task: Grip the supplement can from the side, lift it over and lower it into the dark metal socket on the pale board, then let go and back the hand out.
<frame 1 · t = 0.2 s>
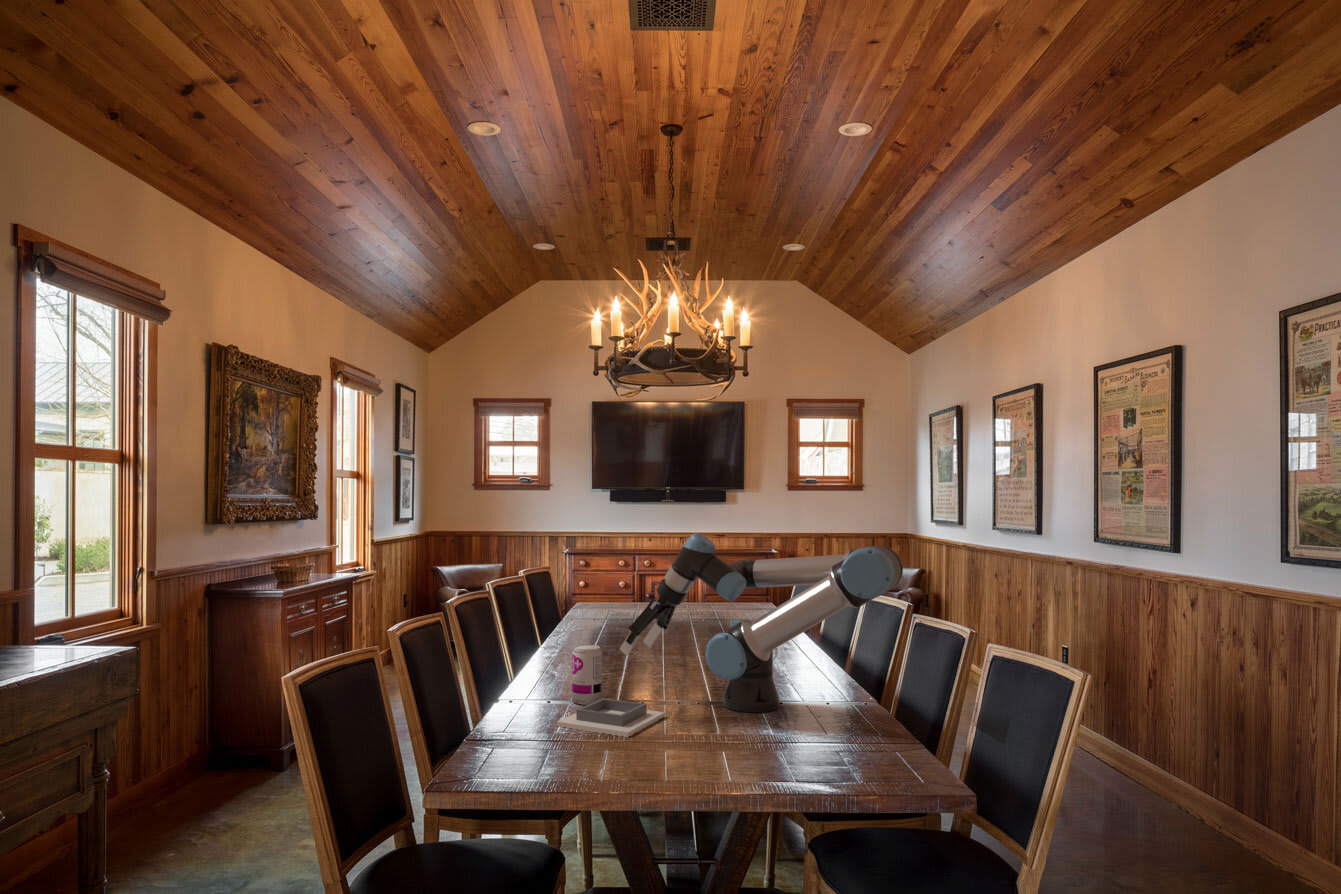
hand: (635, 648, 227), 15 cm above the table, tool tilted 35°, fingers open, 13 cm apart
supplement can: (586, 702, 228), on the table
socket board: (611, 721, 209), on the table
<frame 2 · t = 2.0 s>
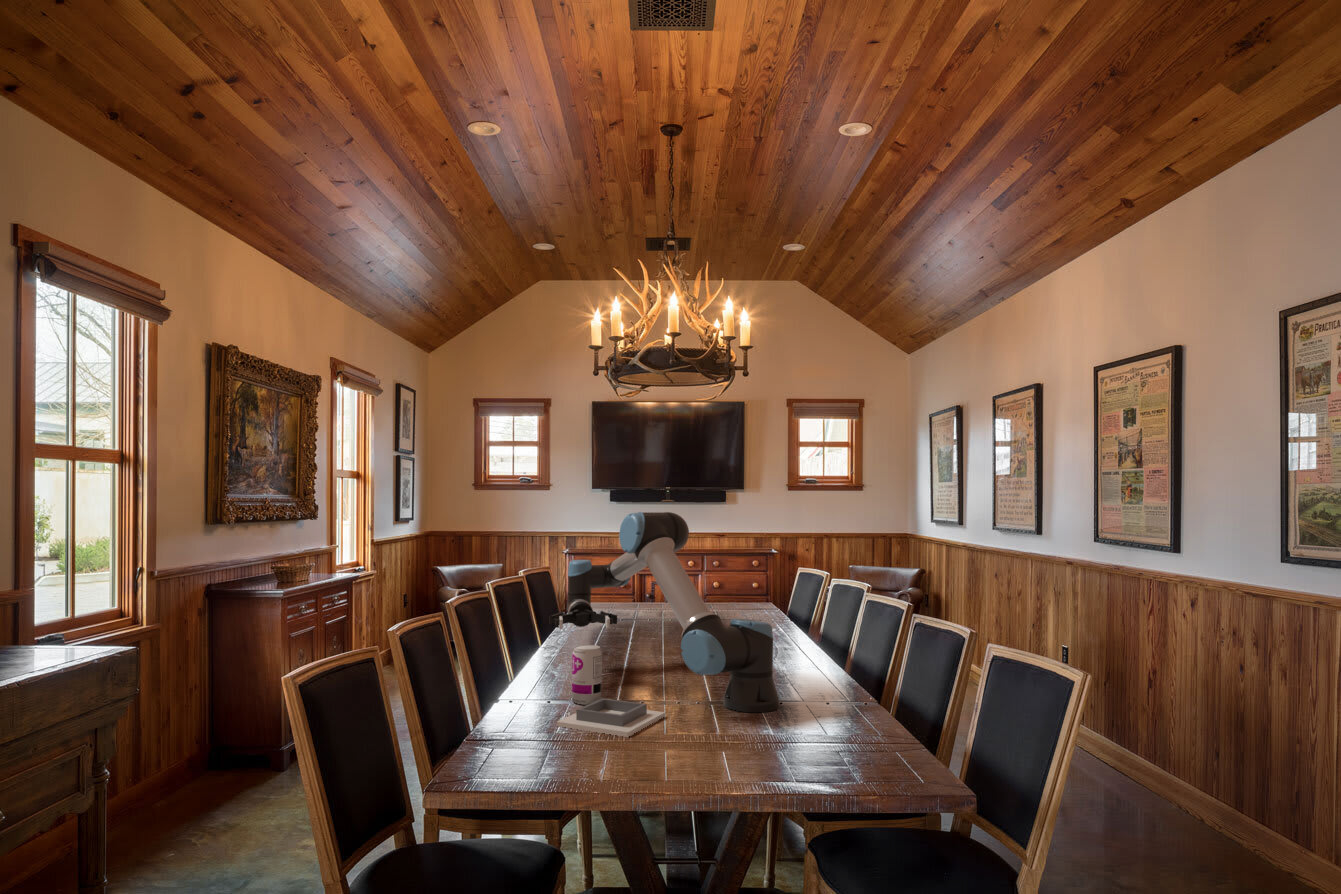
hand: (585, 624, 239), 20 cm above the table, tool horizontal, fingers open, 13 cm apart
nothing on the table moved.
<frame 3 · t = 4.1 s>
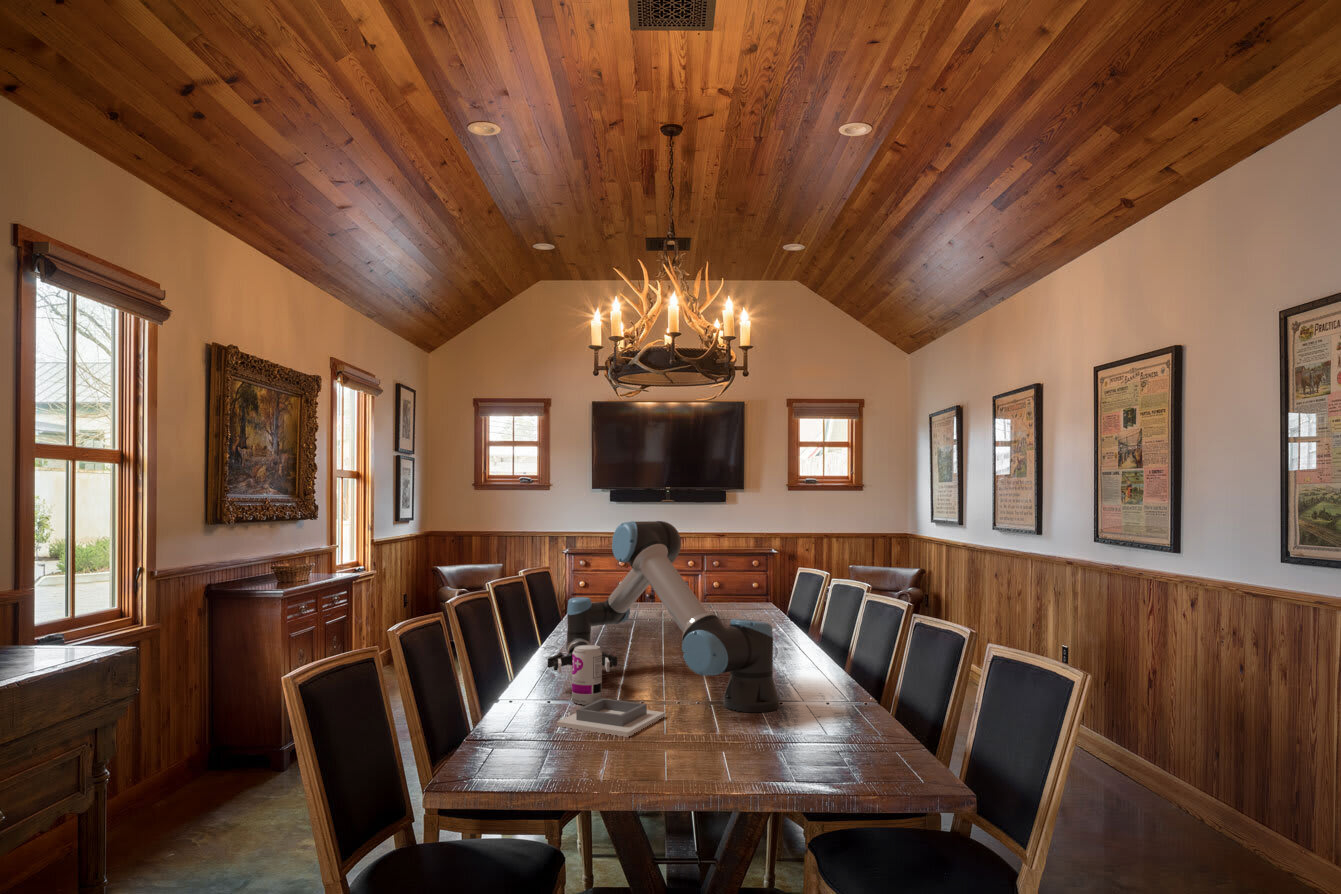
hand: (584, 667, 234), 8 cm above the table, tool horizontal, fingers open, 13 cm apart
nothing on the table moved.
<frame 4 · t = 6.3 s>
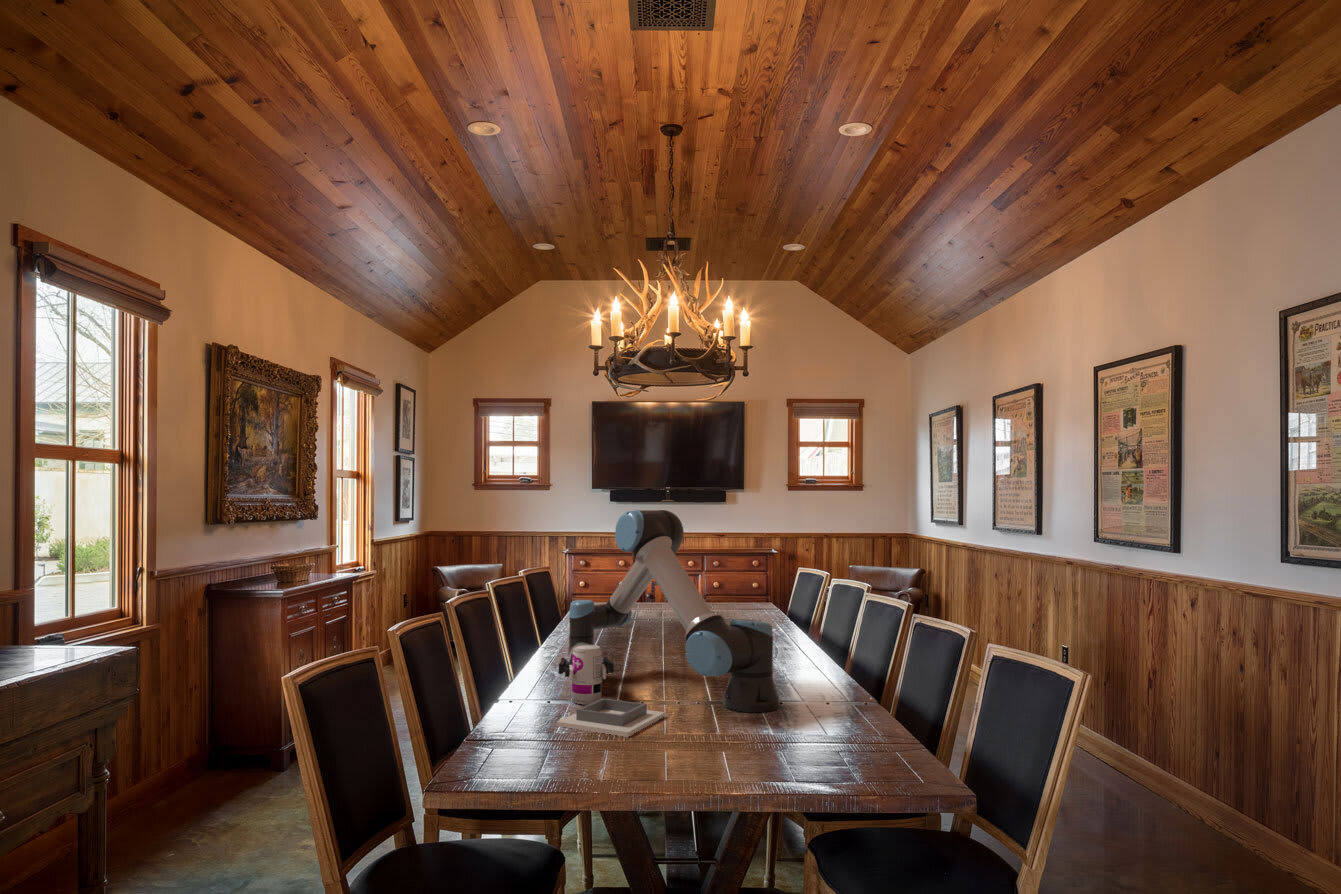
hand: (588, 674, 224), 9 cm above the table, tool horizontal, fingers closed on supplement can, 8 cm apart
supplement can: (586, 702, 228), on the table, touching gripper
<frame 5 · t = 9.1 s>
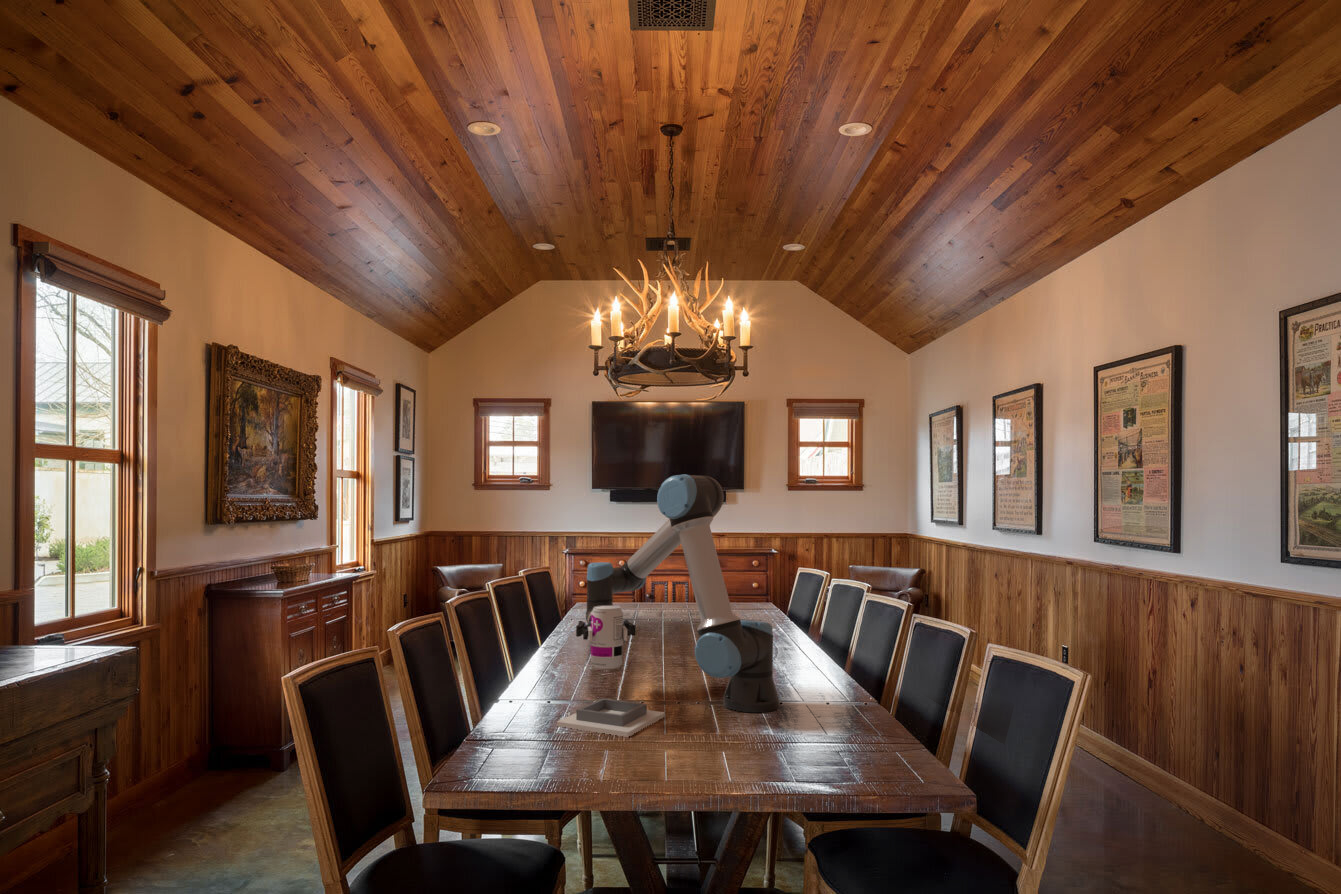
hand: (608, 635, 208), 22 cm above the table, tool horizontal, fingers closed on supplement can, 8 cm apart
supplement can: (606, 667, 212), point 13 cm above the table, touching gripper
when the fingers open (11 cm above the table, at t = 12.3 s): supplement can drops 1 cm, resting on socket board.
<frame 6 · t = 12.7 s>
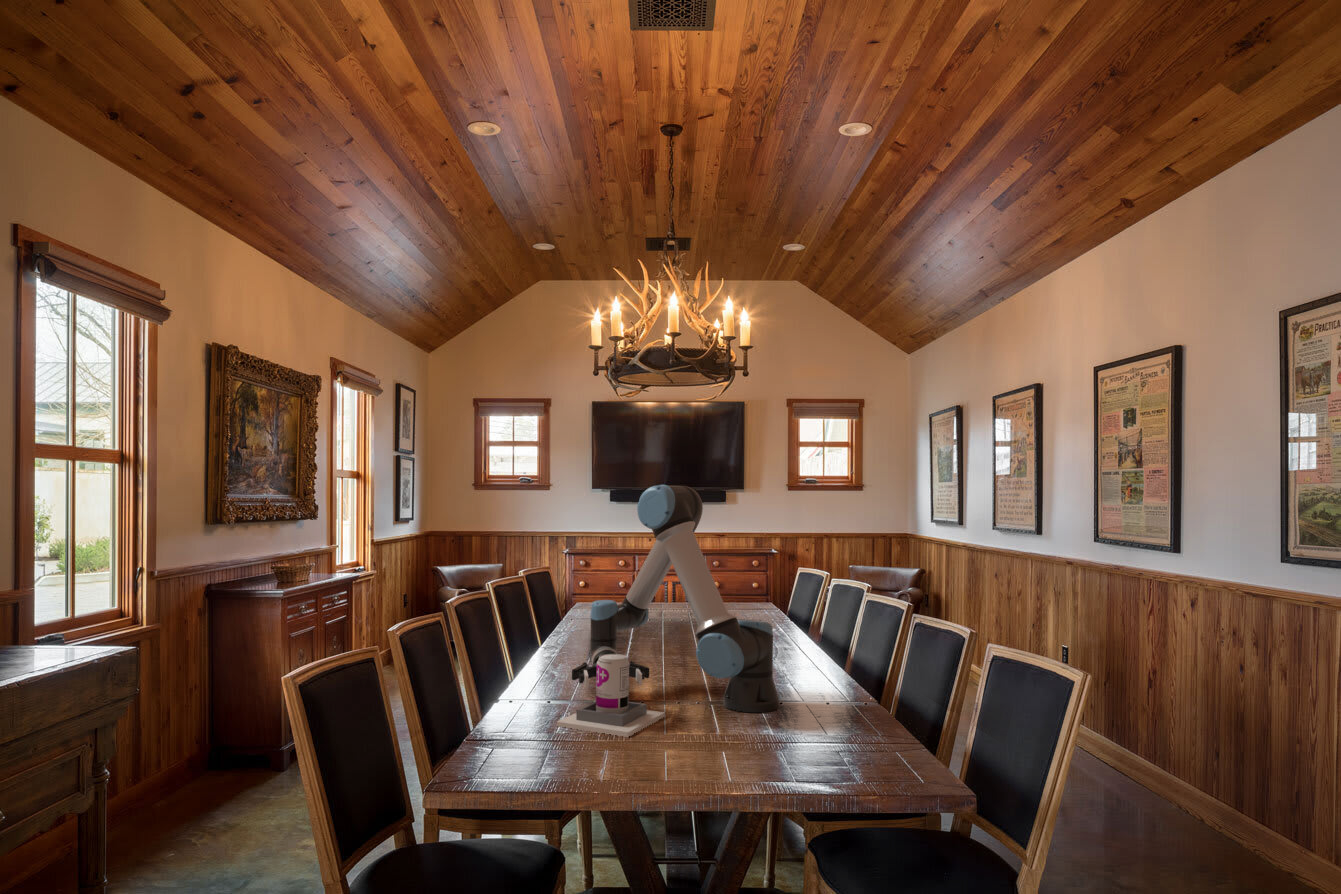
hand: (613, 680, 206), 11 cm above the table, tool horizontal, fingers open, 13 cm apart
supplement can: (612, 717, 209), point 1 cm above the table, touching socket board
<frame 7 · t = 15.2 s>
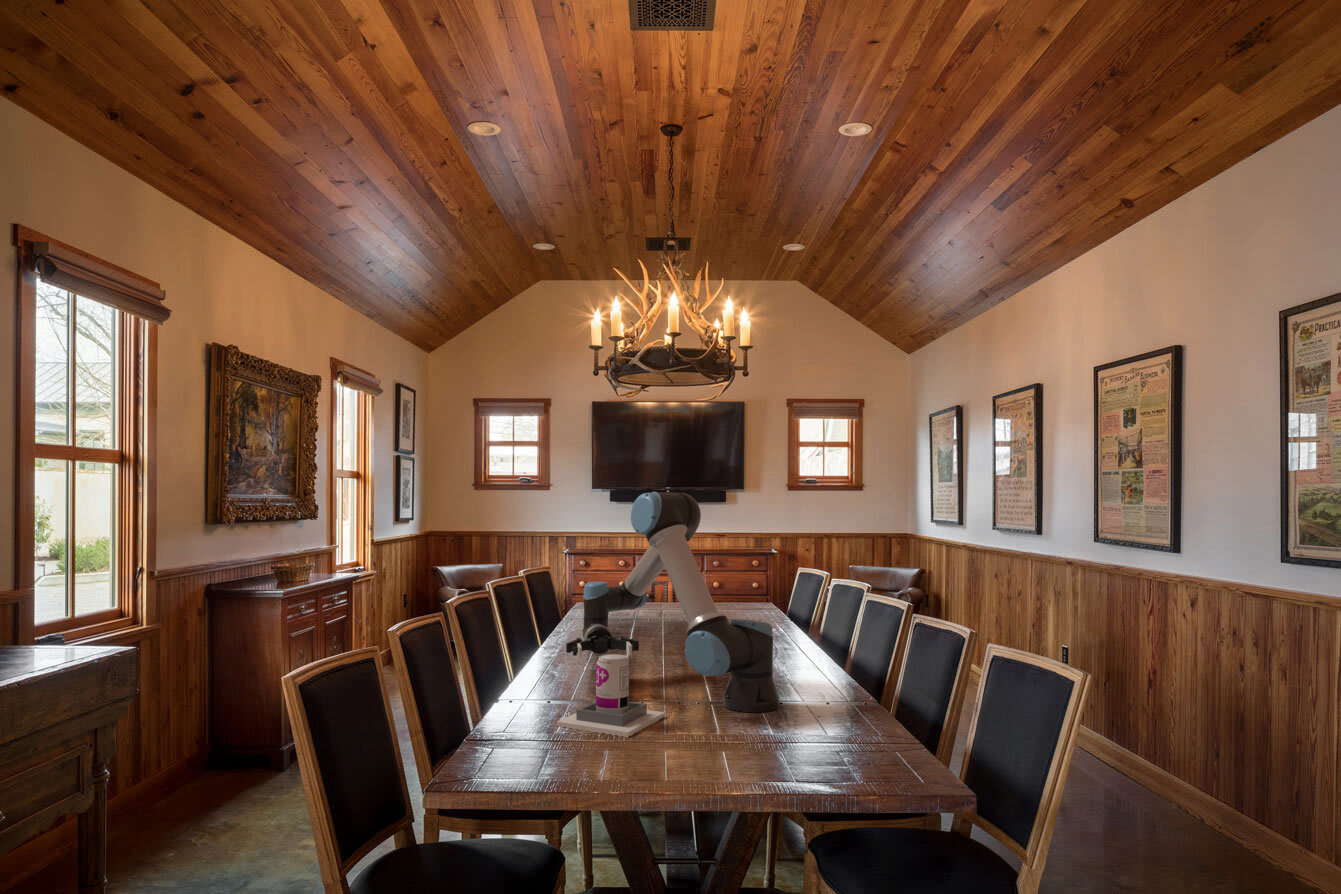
hand: (605, 651, 223), 15 cm above the table, tool horizontal, fingers open, 13 cm apart
nothing on the table moved.
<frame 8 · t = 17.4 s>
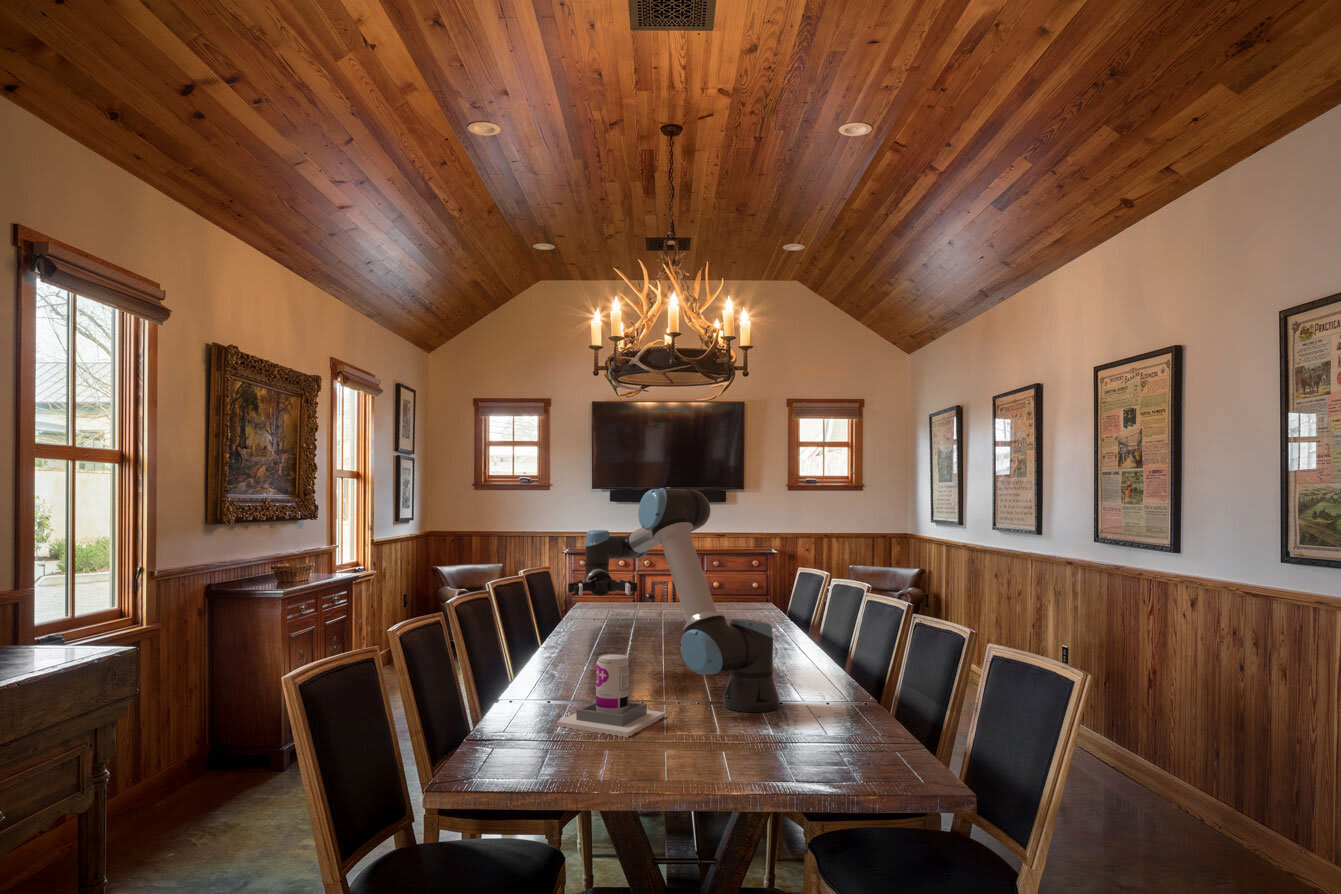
hand: (605, 590, 235), 30 cm above the table, tool horizontal, fingers open, 13 cm apart
nothing on the table moved.
at the end: supplement can 0.1 cm off-centre on the socket board, point 1.0 cm above the socket board's base; supplement can tilted 0°; the gripper is holding nothing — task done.
